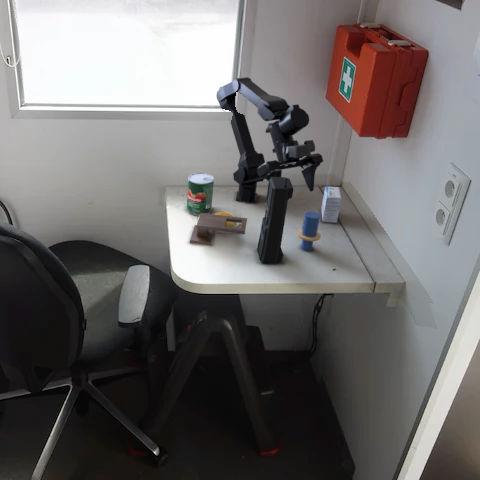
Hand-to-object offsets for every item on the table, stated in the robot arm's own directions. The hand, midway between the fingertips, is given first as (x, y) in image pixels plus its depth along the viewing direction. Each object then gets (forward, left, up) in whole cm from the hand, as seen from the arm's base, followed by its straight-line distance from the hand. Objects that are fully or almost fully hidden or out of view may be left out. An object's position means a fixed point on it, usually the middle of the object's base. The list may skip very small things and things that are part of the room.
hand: (298, 193), depth 151 cm
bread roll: (+1, -21, -12) cm, 24 cm away
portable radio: (+13, -6, -14) cm, 20 cm away
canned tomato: (-9, -29, -14) cm, 33 cm away
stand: (+7, -21, -14) cm, 26 cm away
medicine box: (-14, +11, -14) cm, 23 cm away
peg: (+6, +4, -13) cm, 16 cm away
